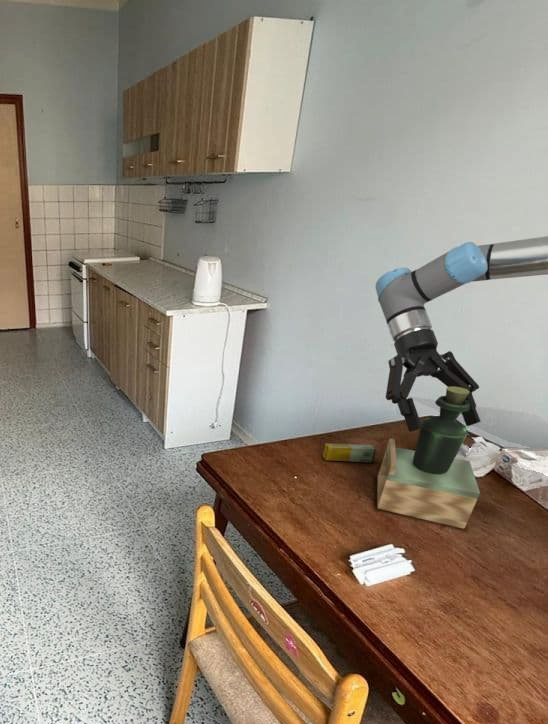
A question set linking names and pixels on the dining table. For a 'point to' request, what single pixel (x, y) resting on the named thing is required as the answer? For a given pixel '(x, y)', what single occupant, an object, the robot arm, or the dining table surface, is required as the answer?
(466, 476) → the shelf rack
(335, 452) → the medication box
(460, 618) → the dining table surface
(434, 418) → the potion bottle
